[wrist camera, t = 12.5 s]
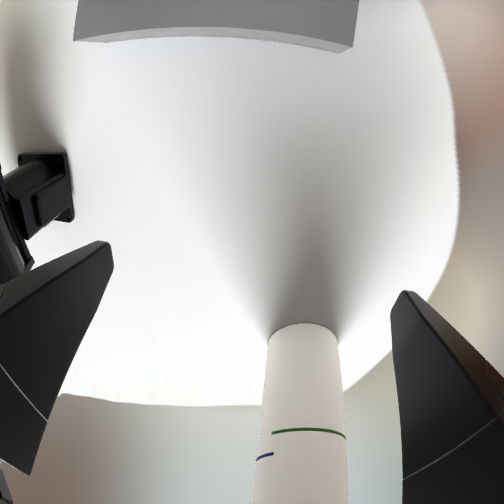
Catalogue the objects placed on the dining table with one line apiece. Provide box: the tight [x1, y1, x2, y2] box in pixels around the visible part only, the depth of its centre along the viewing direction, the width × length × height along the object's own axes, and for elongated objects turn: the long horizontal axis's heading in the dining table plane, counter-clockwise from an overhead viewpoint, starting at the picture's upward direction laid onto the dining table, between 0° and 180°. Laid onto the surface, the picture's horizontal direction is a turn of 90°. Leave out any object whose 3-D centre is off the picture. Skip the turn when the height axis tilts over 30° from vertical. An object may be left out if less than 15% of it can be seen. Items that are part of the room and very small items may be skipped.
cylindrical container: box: [251, 323, 348, 504], centre depth 19 cm, size 7×7×25 cm
